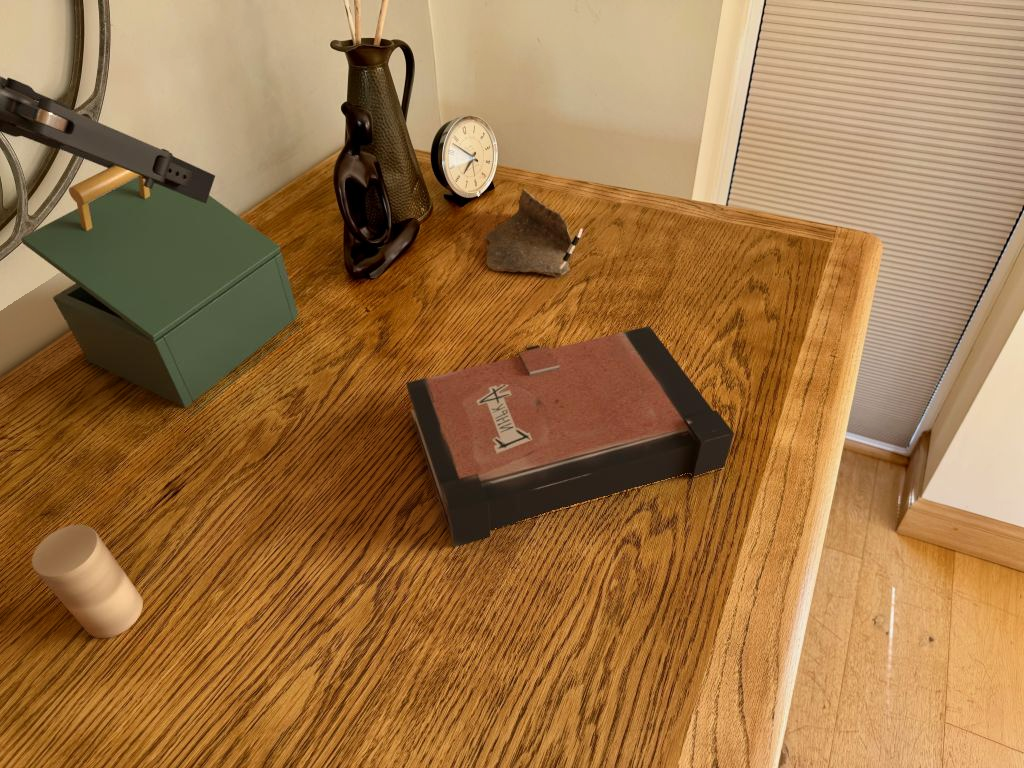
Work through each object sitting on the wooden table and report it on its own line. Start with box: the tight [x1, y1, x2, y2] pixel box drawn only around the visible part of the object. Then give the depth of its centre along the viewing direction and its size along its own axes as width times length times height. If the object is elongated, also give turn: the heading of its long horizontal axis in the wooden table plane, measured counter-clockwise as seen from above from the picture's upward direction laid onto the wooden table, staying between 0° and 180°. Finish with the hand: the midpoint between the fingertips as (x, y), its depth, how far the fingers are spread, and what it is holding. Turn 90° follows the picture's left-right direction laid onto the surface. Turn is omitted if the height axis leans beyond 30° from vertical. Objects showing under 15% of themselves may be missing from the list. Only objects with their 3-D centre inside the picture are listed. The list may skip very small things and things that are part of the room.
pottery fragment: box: [485, 188, 584, 278], centre depth 95 cm, size 18×11×5 cm
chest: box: [52, 252, 302, 418], centre depth 79 cm, size 15×17×10 cm
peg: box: [31, 524, 144, 639], centre depth 55 cm, size 4×4×9 cm
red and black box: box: [405, 325, 735, 548], centre depth 69 cm, size 26×18×5 cm
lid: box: [21, 165, 281, 341], centre depth 71 cm, size 16×17×6 cm
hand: (164, 173), depth 69 cm, fingers open, 11 cm apart
